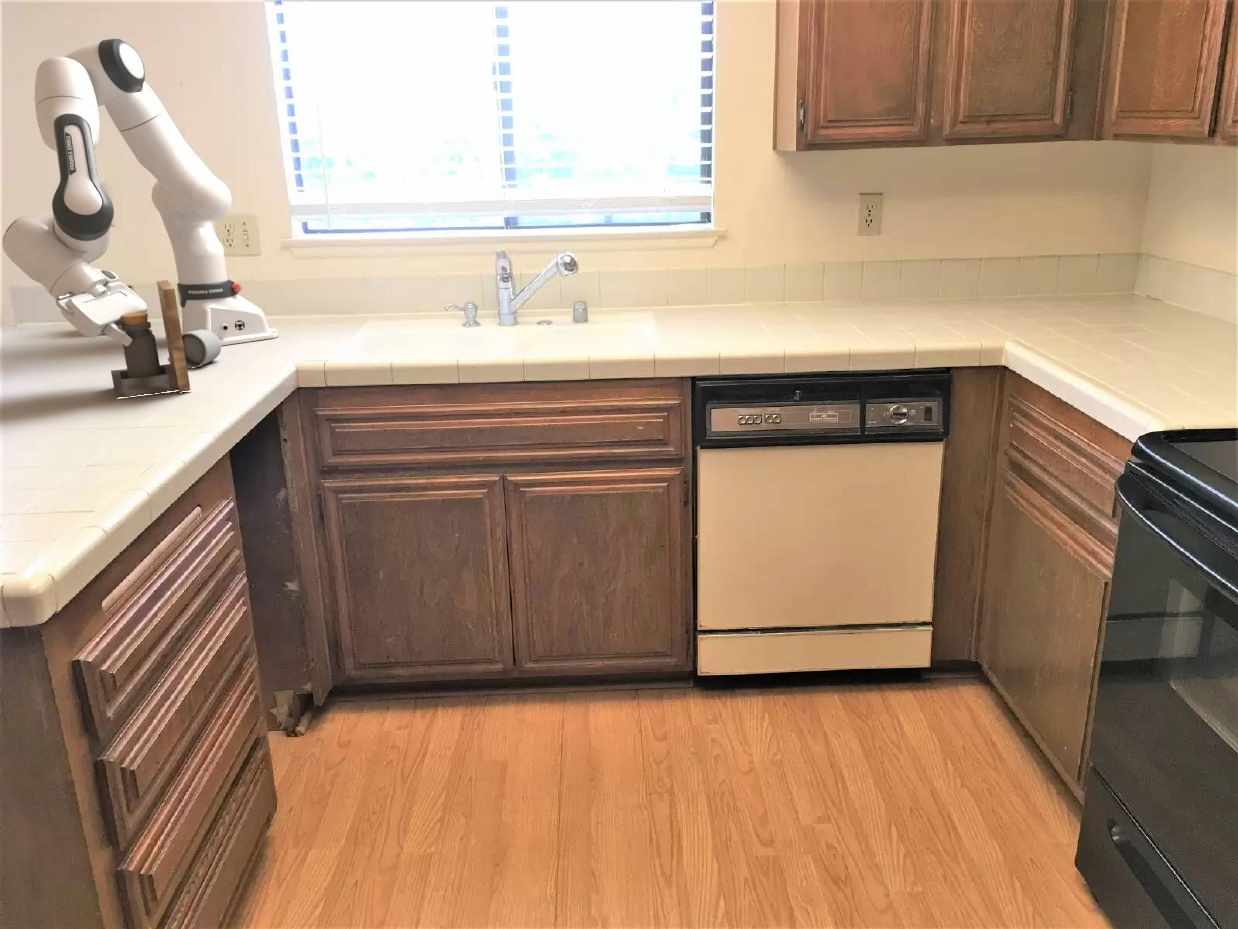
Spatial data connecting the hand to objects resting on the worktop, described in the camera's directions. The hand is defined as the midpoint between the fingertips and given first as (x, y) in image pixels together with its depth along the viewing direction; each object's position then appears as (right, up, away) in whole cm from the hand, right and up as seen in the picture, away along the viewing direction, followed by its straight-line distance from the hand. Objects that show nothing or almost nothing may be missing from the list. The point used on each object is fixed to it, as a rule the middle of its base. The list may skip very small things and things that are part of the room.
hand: (140, 339), depth 194 cm
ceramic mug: (0, -3, +25) cm, 25 cm away
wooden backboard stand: (0, -10, +3) cm, 10 cm away
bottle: (0, -10, +3) cm, 10 cm away
